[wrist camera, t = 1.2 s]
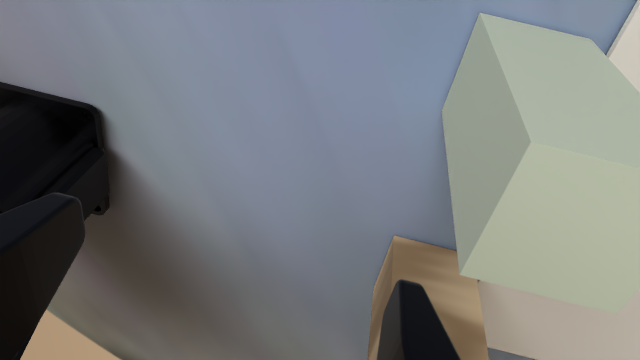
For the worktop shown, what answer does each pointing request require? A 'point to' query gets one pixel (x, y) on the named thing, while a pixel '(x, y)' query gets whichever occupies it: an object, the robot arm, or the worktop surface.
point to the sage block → (544, 165)
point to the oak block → (432, 294)
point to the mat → (560, 316)
